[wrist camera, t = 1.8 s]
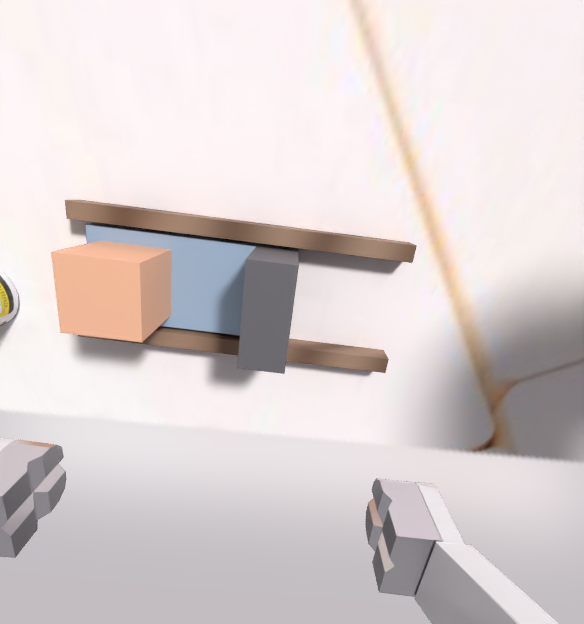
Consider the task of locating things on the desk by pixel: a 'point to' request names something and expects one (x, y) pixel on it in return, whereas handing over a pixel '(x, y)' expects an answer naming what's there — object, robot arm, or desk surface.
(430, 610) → the robot arm
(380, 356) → the guide rails
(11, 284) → the supplement bottle
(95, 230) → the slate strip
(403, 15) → the desk surface
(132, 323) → the terracotta cube
